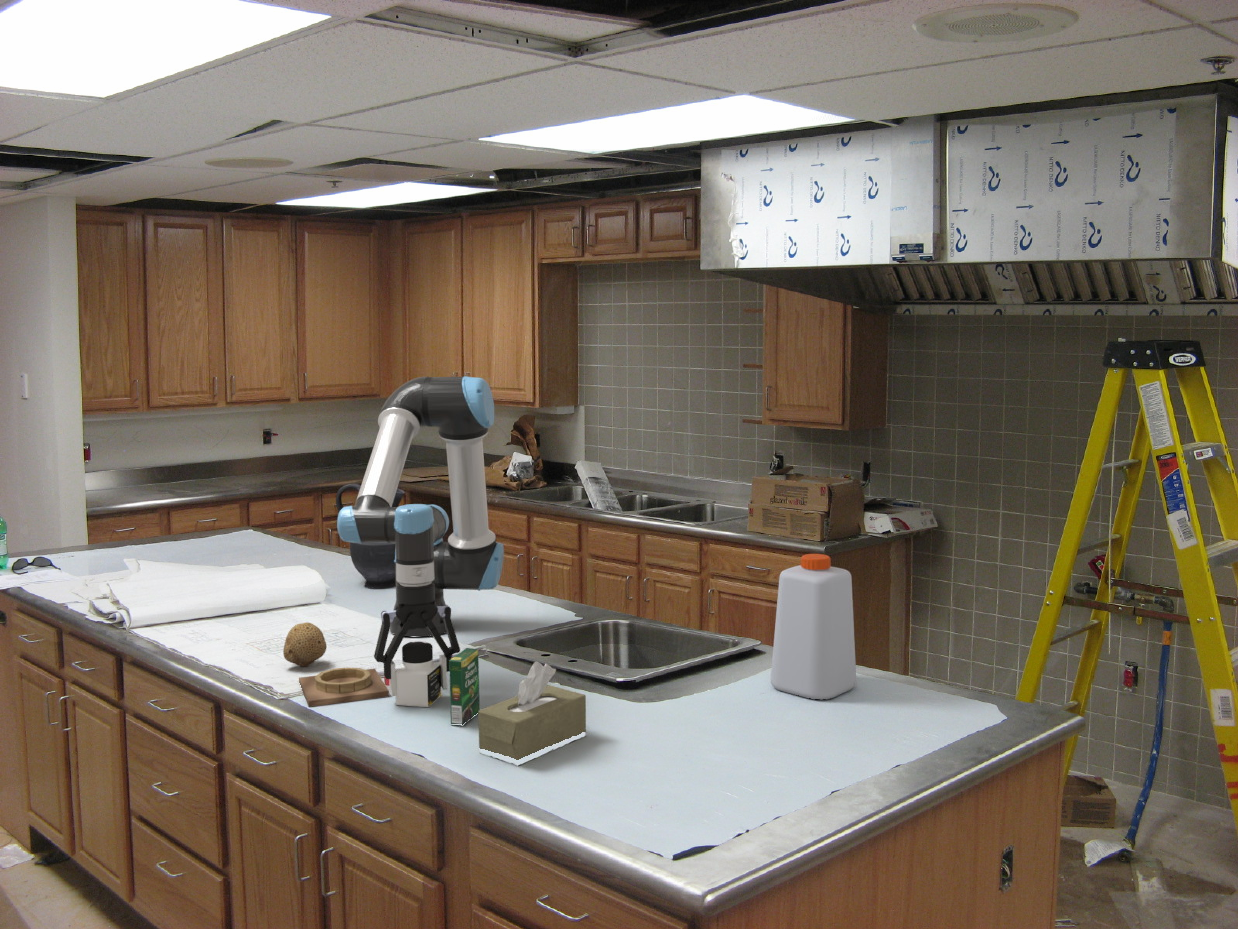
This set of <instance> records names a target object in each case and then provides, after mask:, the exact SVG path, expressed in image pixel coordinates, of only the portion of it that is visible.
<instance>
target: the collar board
mask: <svg viewBox="0 0 1238 929" xmlns="http://www.w3.org/2000/svg"><path fill="white" fill-rule="evenodd" d="M299 683H300V684H299ZM298 684H299V686H300V685H301V687H300V688H302V689H301V691H303V692H302V694H303V696H304V699H305V701H306V704H307V706H308V707H309V708H310V707H319V706H325V705H326V706H327V705H335V704H341V703H350V702H357V701H364V700H365V701H366V700H373V699H379V698H380V699H381V698H388V697H390V689H388V687H387V686H386V684H385V682H384V681H383V680H382V678H381V676H380V674H379V673H378V671H377V670H376V668H367V669H364V668H360V667H348V666H346V667H337V668H331V669H328V670H325V671H321V672H319V673H318V674H317V675H311V676H303V677H302V676H300V677H298Z"/></svg>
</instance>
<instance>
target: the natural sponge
mask: <svg viewBox="0 0 1238 929" xmlns="http://www.w3.org/2000/svg"><path fill="white" fill-rule="evenodd" d="M326 651H327V642H326V639H325V636H324V633H323V632H322V630H321V629H320V627H318V625H317V626H316V625H315V624H313V623H312V622H301V623H296V624H295V625H293V627H292V628H290V630H289V631H288V633H287V635H286V637H285V641H284V646H283V657H284V659H285V660H286V661H287V662H289V663H291V664H294V665H297V666H298V667H303V668H307V667H309V666H311V665H312V664H314V662H316V661H317V660H319V659H320V658H321V657H323V656H324V655H325V654H326Z"/></svg>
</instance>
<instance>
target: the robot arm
mask: <svg viewBox="0 0 1238 929" xmlns="http://www.w3.org/2000/svg"><path fill="white" fill-rule="evenodd" d="M494 402H495V401H494V398H493V392H492V390H491V387H490V385H489V382H487V381H486V380H485V379H484V378H482V377H472V376H467V375H464V376H419V377H416V378H413V379H410V380H408V381H406V382H405V383H403V384H402V385H400V386H399V387H398V388H397V389H396V390H394V391H393V392H392V393H391V394H390V395H389V396H388V398H387V399H386V400H385V402H384V404H383V406H382V408H381V409H380V412H379V415H378V418H377V424H378V427H379V430H378V433H377V435H376V440H375V442H374V446H373V447H372V451H371V453H370V458H369V460H368V463H367V467H366V470H365V472H364V476H363V479H362V481H361V485H360V486H361V488H360V491H359V492H358V494H357V498H356V500H355V504H354V505H349V506H348V505H347V506H343V508H342V509H341V510H340V512H339V513H338V514H337V523H336V525H337V527H336V528H337V533H338V536H339V538H340V539H341V541H343V542H346V543H350V542H353V543H395V545H396V548H395V560H394V562H395V577H396V586H395V604H394V606H393V610H390V611H386V610H382V611H381V613H380V616H381V625H380V629H379V633H378V638H377V642H376V646H375V651H374V654H373V658H374V659H375V661H376V662H377V663H382V664H383V676H384V677H385V681H386V680H389V685H388V686H389V694H390V695H391V697H396V675H395V671H396V663H395V662H394V661H393V659H394V658H395V655H396V653H397V651H398V650H399V648H400V647H401V644H402V641H403V639H404V638H405V637H404V636H429V637H433V638H434V641H435V642H436V644H437V645H438V647H439V648H440V650H441V651H442V653H443V654H439V655H438V656H439V663H440V671H441V690H448V681H447V680H448V678H447V676H448V675H447V674H448V673H450V670H449V660H451V659H452V658H453V655H454V654H459V653H460V652H461V648H460V644H459V641H458V637H457V635H456V632H455V626H454V625H453V622H452V617H451V616H452V608H451V607H450V606H449V605H448V604H446V602H445V597H444V590H461V591H462V590H469V591H479V592H480V591H485V590H486V591H487V590H490V591H491V590H493V589H496V587H498V584H499V582H500V578H501V576H502V570H503V563H504V553H505V549H504V544H503V543H502V542H499V541H497V539H496V538H497V536H496V534H495V532H494V531H492V530H491V529H490V528H489V516H488V500H487V499H488V498H487V486H486V483H487V482H486V473H485V472H486V471H485V459H484V444H483V443H484V442H483V441H484V440H483V439H485V437H486V436H487V435H488V434H489V428H491V427H492V426H493V425H494V422H495V404H494ZM423 427H431V428H432V427H433V428H437V430H438V432H437V433H438V436H439V438H441V439H442V440H443V441H444V442H445V448H446V449H445V450H446V457H447V458H446V460H447V461H446V462H447V469H448V482H449V484H448V485H449V493H450V494H449V495H450V506H451V507H450V508H451V517H452V518H451V519H452V530H453V532H452V533H451V534H450V535H449V536H448V538H447V541H444V539H443V537H444V536H445V534H446V533H447V531H448V530H449V527H450V526H449V525H450V519H449V516H448V514H447V512H446V510H444V509H443V507H441V506H439V505H437V504H423V503H412V504H404V505H400V506H398V507H392V504H393V500H394V497H395V494H396V490H397V488H398V486H399V483H400V479H401V476H402V473H403V470H404V466H405V463H406V461H407V456H408V454H409V450H410V447H411V444H412V440H413V438H414V437H416V436H417V435H418V433H419V432H420V429H421V428H423ZM389 633H391V634H392V633H395V635H394V634H393V637H392V638H391V641H390V643H389V645H388V647H387V649H386V646H387V641H388V638H389ZM445 633H446V635H447V637H448V638H447V639H448V640H449V644H450V646H449V647H448V645H447V643H446V642H445V640H444V639H443V636H442V634H445ZM430 635H431V636H430ZM385 649H386V650H385Z"/></svg>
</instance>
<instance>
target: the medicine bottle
mask: <svg viewBox="0 0 1238 929" xmlns="http://www.w3.org/2000/svg"><path fill="white" fill-rule="evenodd" d="M433 648H434V647H433V644H432V643H430V642H428V641H424V640H412V641H409V642H406V643H405V644H403V645H402V646H401V649H402V650H401V657H402V666H400V667H398V669H395V675H396V696H395V705H396V706H401V707H402V706H403V707H405V706H406V707H418V708H429V707H430V706H432V705H433V704H434V703H436V701H437V700H438V699H439V698H441V696H442V687H441V671H440V662H433V661H434V659H433V658H434V657H433V656H434V655H433V654H434V653H433V652H434V650H433Z"/></svg>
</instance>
